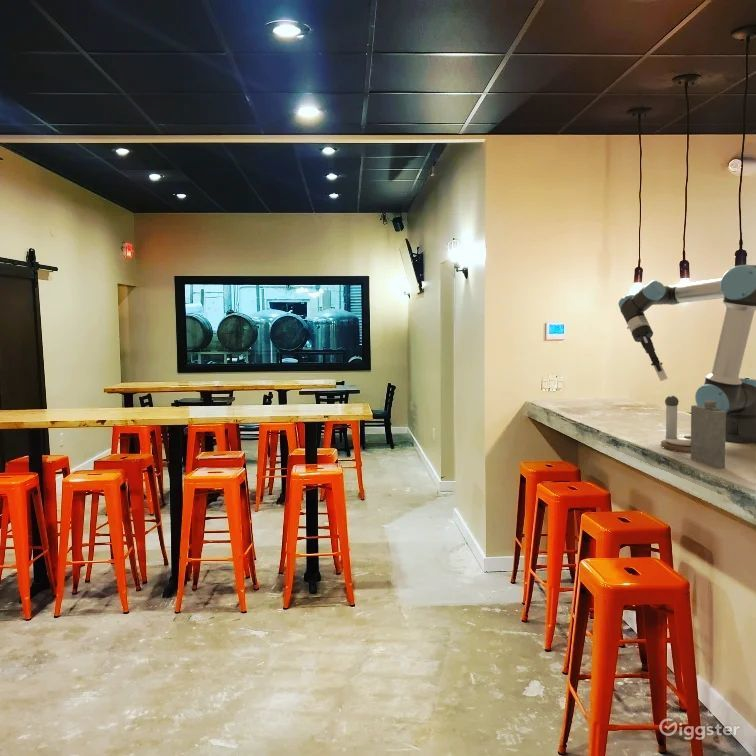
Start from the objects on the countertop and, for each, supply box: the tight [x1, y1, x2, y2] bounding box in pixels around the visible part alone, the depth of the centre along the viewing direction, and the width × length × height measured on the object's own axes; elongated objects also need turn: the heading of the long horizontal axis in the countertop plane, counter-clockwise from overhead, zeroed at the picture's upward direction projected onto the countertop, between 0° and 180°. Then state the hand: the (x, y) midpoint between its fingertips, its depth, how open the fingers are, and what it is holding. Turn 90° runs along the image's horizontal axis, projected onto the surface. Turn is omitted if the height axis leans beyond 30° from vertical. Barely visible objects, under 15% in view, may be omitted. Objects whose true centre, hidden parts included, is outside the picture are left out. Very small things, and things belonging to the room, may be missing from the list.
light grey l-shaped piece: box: [664, 395, 691, 446], centre depth 223 cm, size 16×15×17 cm
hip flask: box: [690, 401, 726, 469], centre depth 199 cm, size 16×4×20 cm, turn 3°
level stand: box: [660, 439, 691, 453], centre depth 224 cm, size 18×18×5 cm
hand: (663, 379), depth 241 cm, fingers closed
